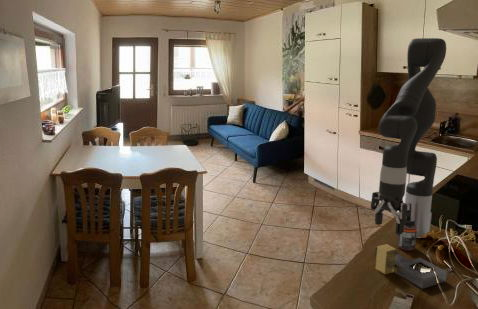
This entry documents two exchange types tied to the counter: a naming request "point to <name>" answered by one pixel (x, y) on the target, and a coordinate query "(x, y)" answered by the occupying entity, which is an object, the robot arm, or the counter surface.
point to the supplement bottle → (408, 236)
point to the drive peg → (385, 258)
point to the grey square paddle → (415, 276)
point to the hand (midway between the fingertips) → (388, 228)
